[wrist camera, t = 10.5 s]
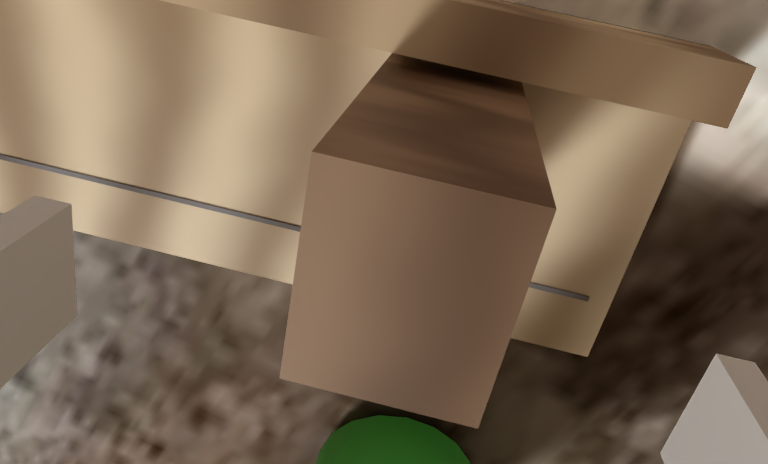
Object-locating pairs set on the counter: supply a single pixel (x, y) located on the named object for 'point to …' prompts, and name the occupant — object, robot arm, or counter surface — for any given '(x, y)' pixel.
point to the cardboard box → (418, 241)
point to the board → (320, 112)
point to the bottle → (389, 443)
